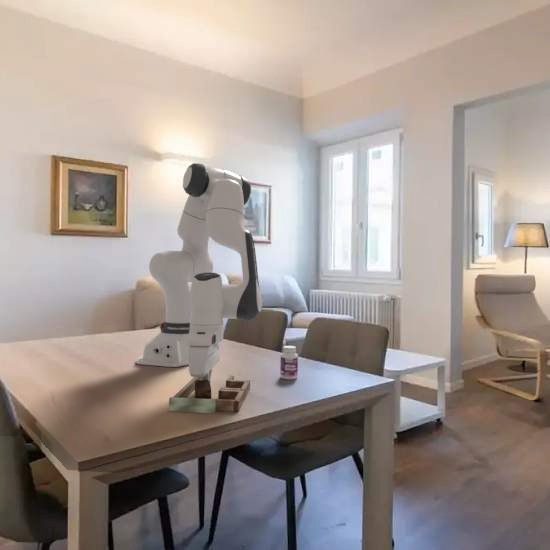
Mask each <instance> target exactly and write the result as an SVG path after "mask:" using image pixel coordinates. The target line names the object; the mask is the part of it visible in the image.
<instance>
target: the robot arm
mask: <svg viewBox="0 0 550 550" xmlns="http://www.w3.org/2000/svg"><path fill="white" fill-rule="evenodd" d="M182 187H183V190H184V191H185V194H187V195H188V197H187V199H186V202H185V204H184V207H183V209H182V214H181V217H180V220H179V223H178V226H177V229H176V230H177V235H178V236H179V238H180V239H181V240H182V249H181V250H166V251H160V252H156V253H155V254H153V256H152V257H151V259H150V261H149V265H148V269H149V273H150V275H151V277H152V278H153V280H155V281H156V282H157V283H158V284H159V285H160V288H161V290H162V293H163V296H164V300H165V321H163V322H162V323H161V324H159V327H158V328H159V329H160V332H159V333H157V334H156V335H155V336H154V337H153V338H151V339H150V340H149V341H148V342H147V343H146V344H145V345H144V348H143V353H142V355H141V356H139V357H138V358H136V362H135V363H136V364H137V365H143V366H144V365H146V366H157V367H158V366H159V367H166V368H167V367H168V368H178V367H183V366H188V372H189V375H190V377H193V378H194V377H201V380H209V381H210V384H211V377H212V372H213V368H214V367H215V366H216V365H217V364H218V363H219V362H220V360H221V343H222V342H223V340H224V319H231V320H232V319H233V320H240V321H241V320H242V321H248V322H251V321H253V320H254V319H255V318H256V317H258V316H259V315H260V314H261V311H262V308H263V307H262V306H263V299H262V295H261V294H262V293H261V291H260V284H259V275H258V265H257V256H256V248H255V241H254V238H253V235H252V233H251V232H250V231H249V230H248V229H246V227H245V223H244V215H245V205H246V204H247V203H248V201H249V199H250V197H251V193H252V187H251V182H250V181H249V180H248V179H247V178H245V177H244V176H243V175H238V174H236V173H233V172H231V171H229V170H226V169H223V168H222V169H221V168H218V167H214V166H210V165H209V166H208V165H205V164H204V163H197V162H196V163H192V164H190V165H189V166H188V167H187V169H186V170H185V172H184V174H183V178H182ZM210 238H211V239H212V240H213V241H214V242H216V243H217V244H219V245H221V246H223V247H225V248H228V249H230V250H233V251H235V252H237V254H239V255H240V258H241V259H240V261H241V273H242V283H240V284H224V283H223V280H222V276H221V274H220V273H217V272H214V271H213V270H214V263H213V259H212V258H211V257H210V255H209V241H210ZM188 283H191V286H190V288H189V284H188Z"/></svg>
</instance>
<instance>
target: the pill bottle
mask: <svg viewBox="0 0 550 550" xmlns="http://www.w3.org/2000/svg"><path fill="white" fill-rule="evenodd" d="M282 351H283V352H282V353H281V354H280V366H279V367H280V370H279V372H280V373H279V377H280V378H281V379H284V380H296V379H297V378H298V370H299V355H298V353H297V347H296V346H295V345H294V346H293V345H284V346H282Z"/></svg>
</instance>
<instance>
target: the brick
mask: <svg viewBox="0 0 550 550" xmlns="http://www.w3.org/2000/svg"><path fill="white" fill-rule="evenodd" d="M194 398H200V399H212V386H211V383H210V381H209V380H196V381H195V390H194Z"/></svg>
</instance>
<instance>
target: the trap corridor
mask: <svg viewBox="0 0 550 550" xmlns="http://www.w3.org/2000/svg"><path fill="white" fill-rule="evenodd" d="M196 380H201V377H193V378H191V379H190V380H189V381H188V382H187V383H186V384H185V385H184V386H183V387H181V389H180V390H178V392H177V393H176V394H174V396H172V397H171V396H170V398H169V399H168V412H177V413H178V412H179V413H183V412H184V413H198V414H199V413H200V414H201V413H202V414H203V413H204V414H216V412H232V413H233V412H234V413H235V412H237V413H238V412H239V411H240V410H241V408H242V406H243V404H244V401H245V400H246V398H247V396H248V394H249V392H250V390H251V381H250V380H248V379H247V380H246V379H245V380H243V379H242V380H241V379H235V375H229V376H228V377H227V379H226V380H225V387H220V388H219V390H218V396H217V397H218V398H211V399H200V398H195V397H189V396H191V394H193V392H195V381H196Z"/></svg>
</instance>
